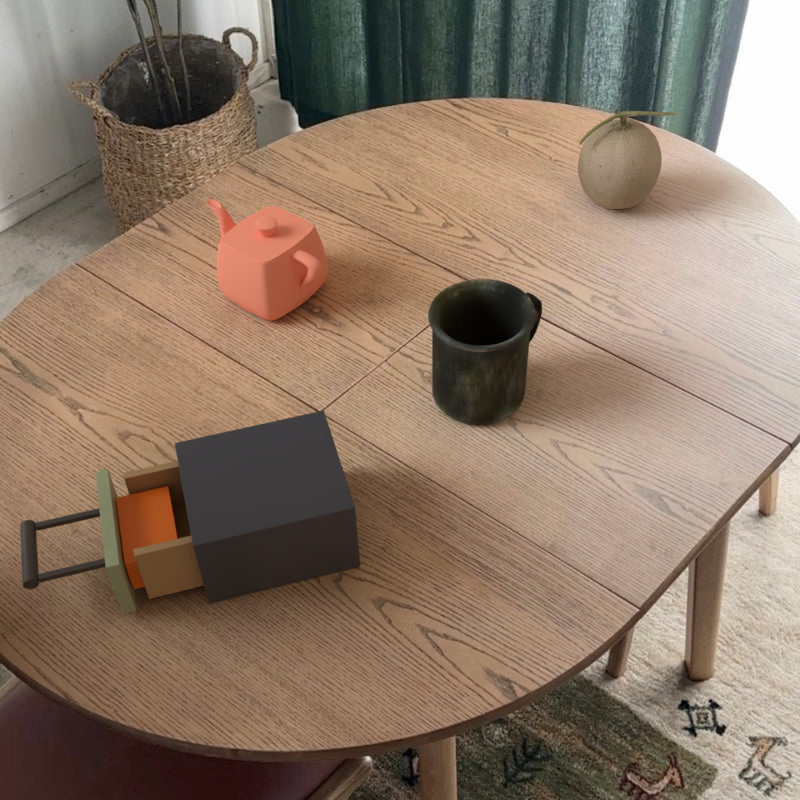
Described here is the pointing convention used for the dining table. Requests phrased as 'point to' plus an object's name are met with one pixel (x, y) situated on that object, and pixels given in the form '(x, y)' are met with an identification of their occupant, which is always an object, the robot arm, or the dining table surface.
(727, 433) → the dining table surface
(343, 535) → the cabinet
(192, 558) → the drawer
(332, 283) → the dining table surface
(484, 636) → the dining table surface
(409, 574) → the dining table surface
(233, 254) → the teapot
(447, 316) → the mug
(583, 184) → the fruit
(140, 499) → the orange gripped block
